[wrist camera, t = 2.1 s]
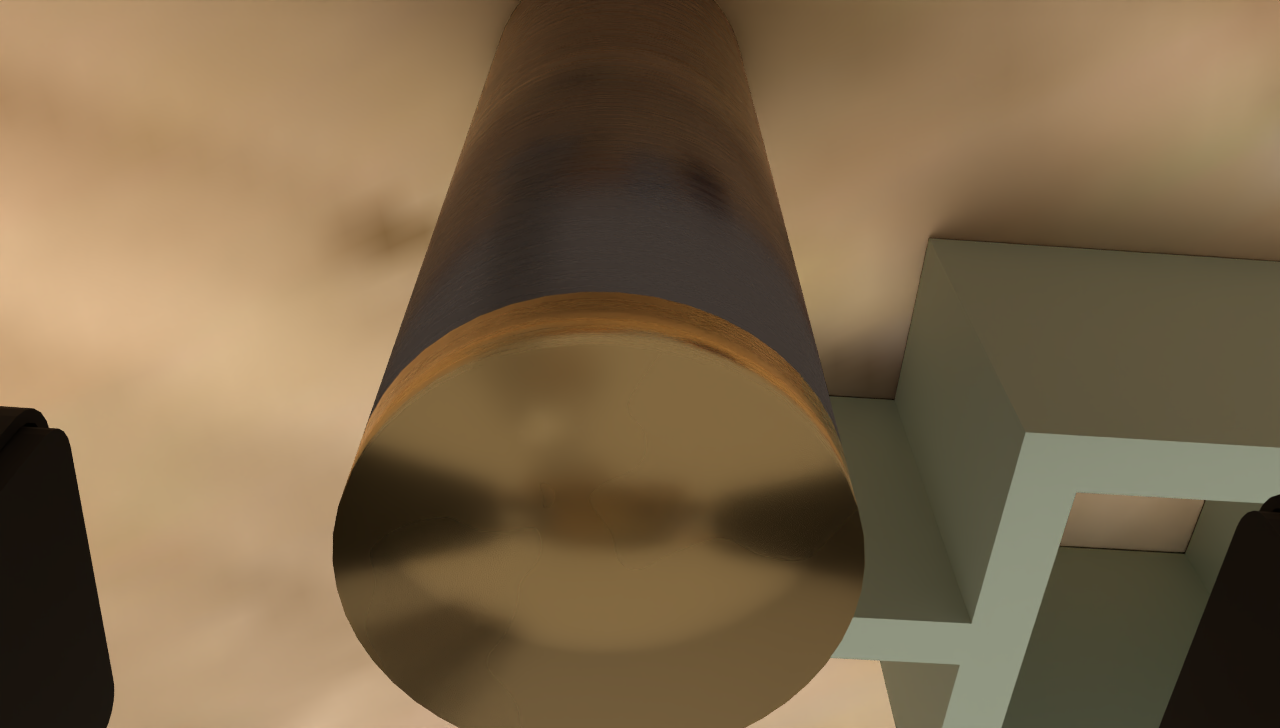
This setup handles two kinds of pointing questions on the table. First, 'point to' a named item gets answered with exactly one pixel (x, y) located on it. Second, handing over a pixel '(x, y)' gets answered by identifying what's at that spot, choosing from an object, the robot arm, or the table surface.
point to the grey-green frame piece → (1056, 477)
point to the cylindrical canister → (604, 404)
